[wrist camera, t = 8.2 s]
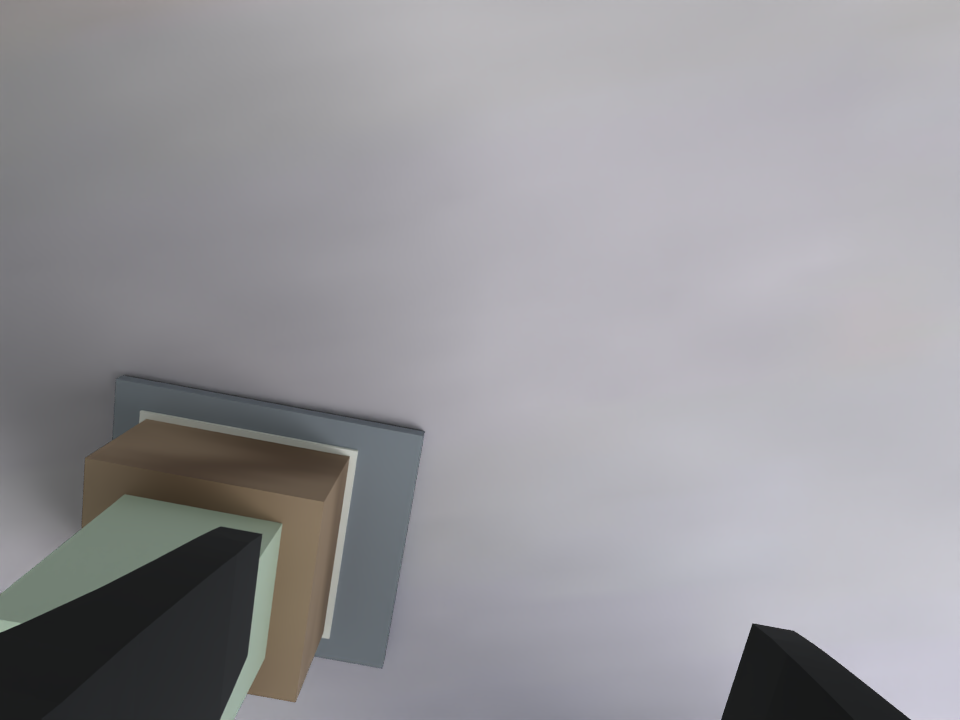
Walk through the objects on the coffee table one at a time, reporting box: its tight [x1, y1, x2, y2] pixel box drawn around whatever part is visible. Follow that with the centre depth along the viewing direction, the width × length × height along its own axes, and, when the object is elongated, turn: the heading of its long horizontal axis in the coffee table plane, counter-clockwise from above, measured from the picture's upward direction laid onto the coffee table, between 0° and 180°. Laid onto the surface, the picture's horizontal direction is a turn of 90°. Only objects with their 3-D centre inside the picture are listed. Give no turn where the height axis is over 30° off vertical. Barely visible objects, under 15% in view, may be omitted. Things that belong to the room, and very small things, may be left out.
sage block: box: [0, 494, 282, 720], centre depth 15 cm, size 4×4×5 cm
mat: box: [112, 375, 425, 668], centre depth 21 cm, size 9×8×1 cm
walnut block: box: [82, 419, 350, 702], centre depth 19 cm, size 6×6×3 cm
